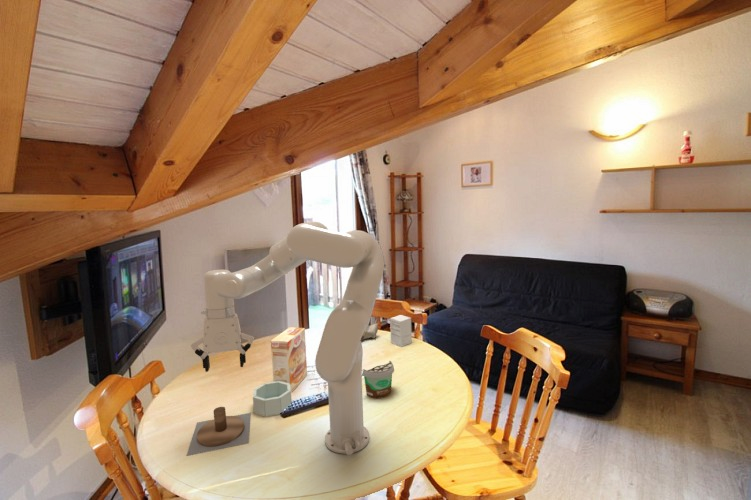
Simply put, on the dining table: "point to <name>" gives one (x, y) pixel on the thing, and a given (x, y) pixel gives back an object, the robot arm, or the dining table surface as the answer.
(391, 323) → the white mini drawer cabinet
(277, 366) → the coffeecake box
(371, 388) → the food container
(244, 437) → the mat
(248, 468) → the dining table surface
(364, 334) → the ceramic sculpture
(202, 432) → the lid
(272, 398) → the bowl
